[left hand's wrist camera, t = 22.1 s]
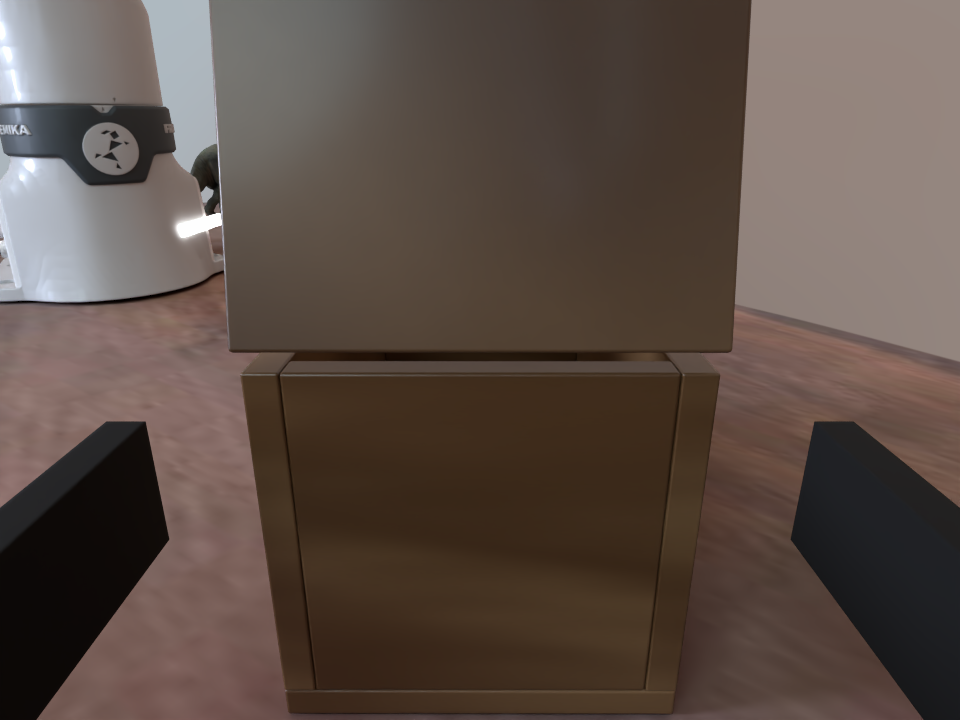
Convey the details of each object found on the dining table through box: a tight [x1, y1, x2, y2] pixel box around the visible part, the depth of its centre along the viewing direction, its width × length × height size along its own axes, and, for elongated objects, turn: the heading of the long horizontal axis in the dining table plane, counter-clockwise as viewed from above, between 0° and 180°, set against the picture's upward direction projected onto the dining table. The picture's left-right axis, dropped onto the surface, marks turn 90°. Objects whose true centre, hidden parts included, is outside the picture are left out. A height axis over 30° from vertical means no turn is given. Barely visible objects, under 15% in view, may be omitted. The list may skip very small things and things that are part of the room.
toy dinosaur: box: [191, 144, 221, 216], centre depth 92 cm, size 22×8×11 cm, turn 132°
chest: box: [240, 353, 720, 714], centre depth 20 cm, size 14×9×9 cm
